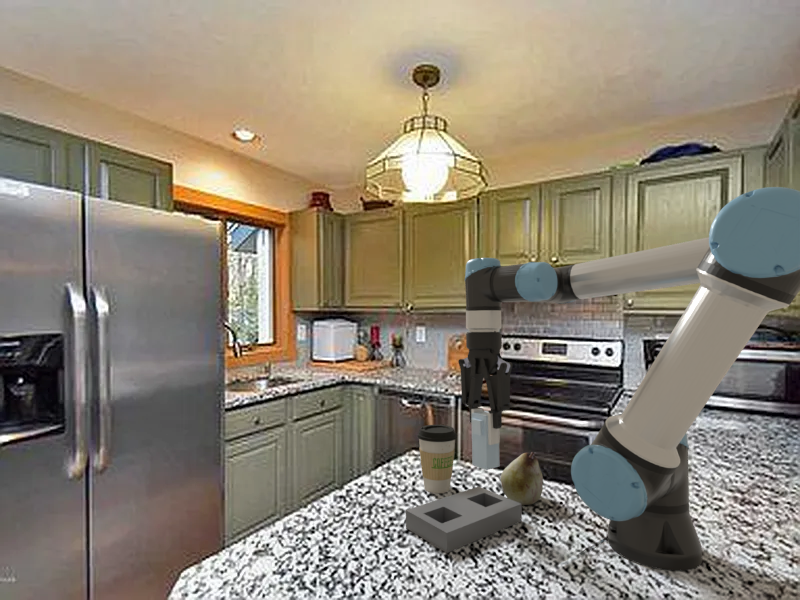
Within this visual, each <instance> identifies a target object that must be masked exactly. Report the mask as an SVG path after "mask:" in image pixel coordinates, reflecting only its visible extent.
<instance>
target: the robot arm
mask: <svg viewBox="0 0 800 600" xmlns="http://www.w3.org/2000/svg"><path fill="white" fill-rule="evenodd" d="M708 234H709V235H708V237H702V238H698V239H692V240H689V241H688V240H687V241H684V242H683V241H682V242H680V243H679V242H678V243H673V244H670V245H664V246H663V245H662V246H659V247H654V248H648V249H644V250H638V251H636V252H629V253H624V254H620V255H615V256H610V257H605V258H604V257H603V258H598V259H595V260H589V261H586V262H581V263H580V262H579V263H575V264H570V265H565V266H560V267H552V266H551V264H550V263H548V262H546V261H539V262H537V261H535V262H534V261H529V262H526V263H520V264H519V263H518V264H511V265H504V266H503V265H501V260H500V259H498V258H494V257H481V258H480V257H478V258H477V257H476V258H471V259H469V260H468V261H467V262H466V263H465V276H464V285H465V287H464V288H465V305H466V306H465V328H466V330H468V332H466V333H465V334H466V335H465V339H466V343H465V344H466V345H465V347H466V349H468V354H467V357H464V358H460V359H458V365H459V369H460V383H461V385H460V386H461V402H462V404H463V405H466V406H468V409H469V421H470V422H469V423H471V425H472V413H475V412H480V411H484V410H483V407H482V406H483V405H482V404H481V397H482V391H483V389H482V388H483V384H484V382H483V381H485V382H486V390H487V394H488V395H487V396H488V401H489V408H490V410H488V411H489V412H488V444H489V445H493V444H497V443H499V444H500V442H501V437H500V431H501V428H502V426H503V425H502V422H503V421H502V420H503V419H502V418H503V417H502V413H503V412H504V411H505V412H506V411H508V410H510V409H511V408H510V406H511V373H512V369H513V363H512V362H510V361H509V362H508V361H505V360H503V357H502V355H501V349H502V347H503V339H502V338H503V335H502V332H501V331H500V330H501V329H502V303H520V302H521V303H522V302H523V303H526V302H529V303H550V304H551V303H552V304H553V303H555V304H569V303H573V302H575V301H579V300H586V299H592V298H601V297H608V296H615V295H623V294H631V293H637V292H645V291H646V292H647V291H651V290H658V289H659V290H660V289H667V288H674V287H675V288H676V287H680V286H681V287H682V286H688V285H696V284H700V285H699V287H698V289H697V290H696V292H695V293H694V295H693V297H692V298H691V300H690V302H689V303H688V305H687V307H686V308H685V310H684V312H683V313H682V314H681V317H680V318H679V320H678V321H677V322H676V325H675V326H674V328H673V329H672V331H671V333H670V335H669V336H668V338H667V340H666V342H664V344H663V346H662V348H661V350H660V351H659V353H658V354H657V355H656V357H655V359H654V361H653V363H652V364H651V365H650V367H649V369H648V370H647V372H646V374H645V376H644V377H643V379H642V381H641V382H640V383H639V386H637V389H636V390H635V392H634V394H633V395H632V396H631V399H630V400H629V402H628V404H627V405H626V407H625V409H624V410H623V412H622V414H616V415H612V416H611V415H610V416H609V417H607V418H606V420H605V421H604V423H603V425H602V427H601V428H600V430H599V431H598V433H597V435H596V436H595V438H594V440H593V441H592V443H591V444H589V445H586V446H584V447H582V448H581V449H580V450H579V451H578V452H577V453H576V454H575V455H574V457H573V460H572V462H571V466H570V475H571V480H572V482H573V485H574V489H575V491H576V492H577V495H578V496H579V498H580V499H581V500H582V502H583V503H584V504H585V505H586V506H587V507H588V508H589V509H590V510H591V511H592V512H593V513H595V514H596V515H598V516H600V517H602V518H604V519H607V520H609V523H608V526H607V542H608V545H609V546H610V547H611V548H612V549H613V550H614V551H615V552H616V553H617V554H619V555H621V556H622V557H624V558H625V559H627V560H629V561H632V562H634V563H637V564H640V565H642V566H646V567H650V568H653V569H659V570H665V571H677V572H679V571H680V572H681V571H689V570H693V569H696V568H699V567H700V566H701V565H702V563H703V547H702V543H701V541H700V537H699V535H698V533H697V530H696V527H695V523H694V521H693V519H692V516H691V514H690V493H689V492H690V489H689V488H690V486H689V485H690V482H689V480H690V479H689V449H690V446H689V444H688V443H689V442H688V435H687V433H688V431H689V429H690V428H691V427H692V426H693V424H694V422H695V421H696V419H697V418H698V416H699V415H700V414H701V412H702V411H703V409H704V407H705V406H706V404H707V403H708V401H709V400H710V399H711V397H712V395H713V394H714V393H715V391H716V389H717V388H718V386H719V385H720V384H721V382H722V381H723V379H724V378H725V376H726V375H727V374H728V372H729V370H730V369H731V368H732V366H733V364H734V363H735V362H736V360H737V359H738V357H739V356H740V354H741V353H742V352H743V350H744V348H745V347H746V345H747V344H748V342H749V341H750V340H751V338H752V337H753V335H754V334H755V332H756V331H757V329H758V327H760V325H761V323H762V322H763V320H764V319H765V317H766V315H768V314H769V313H770V312H773V311H775V310H780V309H784V308H788V307H789V306H790V305H791V303H792V302H793V301H794V299H795V298H796V297H797V296H798V294H799V292H800V190H797V189H794V188H790V187H784V186H783V187H782V186H769V187H761V188H756V189H754V190H750V191H748V192H744V193H742V194H740V195H739V196H737V197H735V198H733V199H732V200H731V201H729V202H728V203H726V204H725V205H724V206H723V207H722V208H721V209H720V211H718V213H717V214H716V215H715V217H714V219H713V220H712V223H711V225H710V228H709V233H708Z"/></svg>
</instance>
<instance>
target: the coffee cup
mask: <svg viewBox="0 0 800 600" xmlns="http://www.w3.org/2000/svg"><path fill="white" fill-rule="evenodd" d="M416 438H417V439H418V441H419V442H418V443H419V448H418V450H419V457H420V458H419V459H420V464H421V465H420V467H421V475H422V479H423V488H424V490H425V491H426V492H428V493H432V494H444V493H447V492H449V491H450V489H451V483H452V482H451V481H452V476H453V468H454V461H455V460H454V459H455V446H456V445H455V443H456V440H457V438H458V436H457V433H456V432H455V428H454V427H453V426H450V425H444V424H428V425H423V426H421V427H420V428H419V431H418V432H417V436H416Z"/></svg>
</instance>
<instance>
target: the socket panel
mask: <svg viewBox="0 0 800 600" xmlns="http://www.w3.org/2000/svg"><path fill="white" fill-rule="evenodd" d="M522 514H523V513H522V504H521V503H518V502H516V501H513V500H511V499H508V498H507V496H504V495H501V494H499V493H495V492H493V491H491V490H488V489H486V488H484V487H481V486H476V487H472V488H469V489H467V490H463V491H460V492H457V493H454V494H451V495H448V496H445V497H442V498H441V497H440V498H438V499H436V500H433V501H429V502H426V503H424V504H419V505H418V506H415V507H414V506H413V507H412V508H408V509H405V529H406V530H408V531H409V532H411V533H413V534H415V535H416V536H418V537H420V538H421V539H423V540H425V541H426V542H428V543H429V544H431V545H433V546H434V547H436V548H438V549H439V550H441V551H443V552H445V553H446V554H449V553H452V552H454V551H455V550H457V549H458V550H459V549H460V548H463V547H465V546H467V545H469V544H472V543H474V542H477V541H479V540H481V539H484V538H486V537H488V536H490V535H493V534H495V533H497V532H500V531H503V530H505V529H507V528H509V527H512V526H513V525H516V524H519V523H521V522H523V521H522V520H523V519H522V518H523V517H522Z"/></svg>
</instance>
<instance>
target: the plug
mask: <svg viewBox="0 0 800 600" xmlns="http://www.w3.org/2000/svg"><path fill="white" fill-rule="evenodd" d="M489 411H490V410H483V411H480V412H475V413H472V424H471V453H472V454H471V459H472V460H471V461H472V462H471V463H472V464H471V465H472V466H474V467H475V468H479V469H482V470H486V471H488V470H492V469H494V468H498V467H500V466H501V464H500V443H497V444H493V445H489V444H488V412H489Z"/></svg>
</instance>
